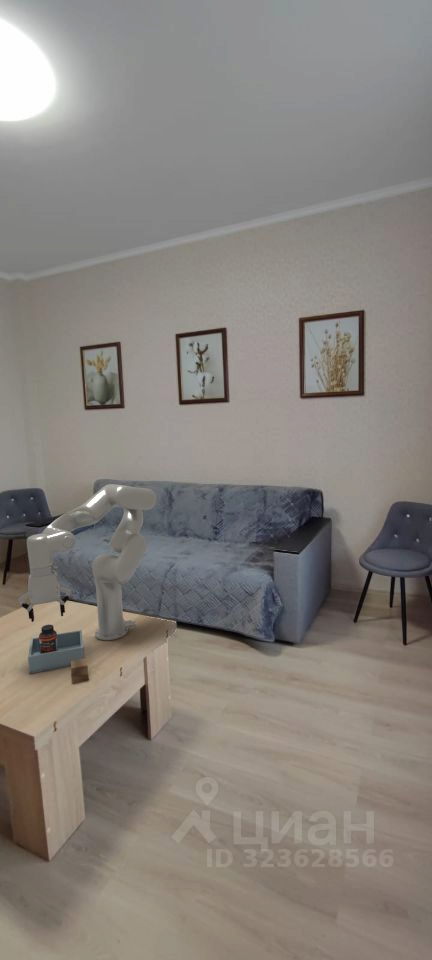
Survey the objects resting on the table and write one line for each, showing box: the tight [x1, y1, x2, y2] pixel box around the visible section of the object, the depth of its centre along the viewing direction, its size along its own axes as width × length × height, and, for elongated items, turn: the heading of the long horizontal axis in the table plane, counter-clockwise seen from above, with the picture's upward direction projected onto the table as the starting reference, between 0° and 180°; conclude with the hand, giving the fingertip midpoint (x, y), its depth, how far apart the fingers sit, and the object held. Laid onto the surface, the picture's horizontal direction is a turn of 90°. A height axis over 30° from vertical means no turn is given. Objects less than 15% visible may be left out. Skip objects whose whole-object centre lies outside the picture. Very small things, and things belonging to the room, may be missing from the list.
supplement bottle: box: [38, 624, 58, 654], centre depth 159 cm, size 6×6×11 cm
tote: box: [27, 629, 85, 674], centre depth 160 cm, size 18×15×6 cm
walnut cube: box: [70, 657, 89, 684], centre depth 148 cm, size 5×5×5 cm
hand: (47, 617), depth 159 cm, fingers open, 9 cm apart
